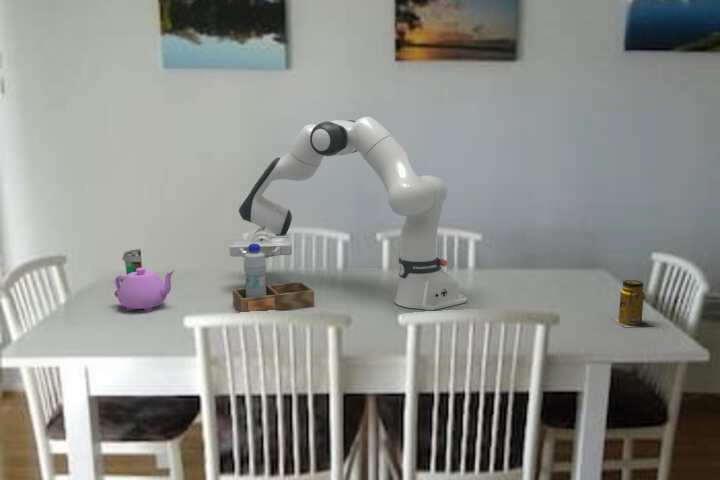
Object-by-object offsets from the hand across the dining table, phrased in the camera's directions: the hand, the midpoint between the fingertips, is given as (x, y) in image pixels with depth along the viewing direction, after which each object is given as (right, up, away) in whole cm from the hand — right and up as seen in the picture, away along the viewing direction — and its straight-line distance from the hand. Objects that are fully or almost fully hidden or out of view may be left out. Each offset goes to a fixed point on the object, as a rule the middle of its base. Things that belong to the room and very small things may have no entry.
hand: (259, 253), depth 209 cm
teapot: (-34, -16, -7) cm, 38 cm away
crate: (+5, -16, -7) cm, 18 cm away
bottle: (+1, -16, -9) cm, 19 cm away
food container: (-48, -10, +23) cm, 54 cm away
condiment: (+109, -19, -24) cm, 113 cm away
